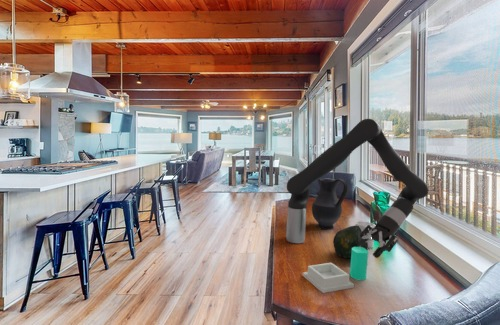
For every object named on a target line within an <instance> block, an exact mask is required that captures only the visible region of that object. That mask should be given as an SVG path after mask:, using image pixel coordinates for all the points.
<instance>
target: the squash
mask: <svg viewBox="0 0 500 325" xmlns="http://www.w3.org/2000/svg"><path fill="white" fill-rule="evenodd" d="M361 232H362V231H361V229H360V227H359V226H355V225H352V226H348V227H346V228H343V229H341V230H339V231H337V232H336V233H335V235H334V237H333V242H332V243H333V247H334V252H335V254H336V256H338V257H340V258H344V259H351V251H352V248H353V247H357V244H358V243H359V241H360V240H361V237H360V236H359V235H360V234H361ZM363 236H364V235H363ZM363 248H365V249H366V250H367V251H368V252H369V248H368V242H366V244H365V245H364V246H363Z"/></svg>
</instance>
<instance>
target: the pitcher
mask: <svg viewBox="0 0 500 325" xmlns="http://www.w3.org/2000/svg"><path fill="white" fill-rule="evenodd" d="M317 182H318V184H319V190H318V193H317V195H316V198H315V200H314V201H313V202H312V204H311V215H312V216H313V219H314V220H315V222H317V225H316V227H317V228H318V229H319V228H320V229H322V230H333V229H334V224H336V223H337V222H338V221H339V219H340V218H341V216H342V212H343V206H342V204H343V201H344V199H345V197H346V195H347V192H348V184H347V182H346V180H344V179H343V178H336V179H333V178H322V179H321V178H318V179H317ZM339 182H341V183H342V184H343V190H342V193H341V195H340V196H339V198H338V197H337V193H336V191H337V190H336V189H337V187H338V186H337V185H338V184H339Z"/></svg>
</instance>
